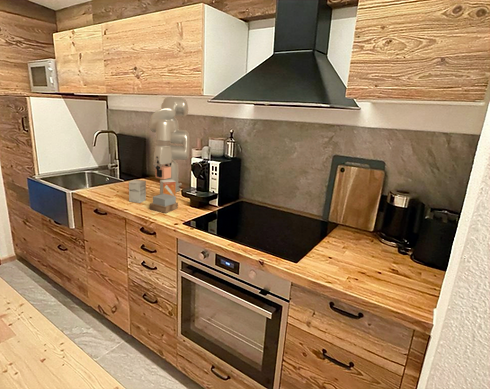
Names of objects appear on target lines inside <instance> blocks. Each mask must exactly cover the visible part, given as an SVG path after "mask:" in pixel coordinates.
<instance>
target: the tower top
mask: <svg viewBox="0 0 490 389" xmlns="http://www.w3.org/2000/svg"><path fill="white" fill-rule="evenodd" d="M176 197H177V196H176V195H175V196H172V195H168V194H160V193H159V194H157V195H153V196H152V203H153V204H157V205H161V206H164V207H165V206H168V205H171V204H174V203H177V202H176V201H177V198H176Z"/></svg>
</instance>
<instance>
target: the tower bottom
mask: <svg viewBox="0 0 490 389" xmlns="http://www.w3.org/2000/svg"><path fill="white" fill-rule="evenodd" d="M178 208H179V204H178V202H176V203H174V204H171V205H168V206H165V207H164V206H161V205H157V204H153V202H151V203H149V210H150V211H152V212H153V211H154V212H156V213H161V214H168V213H171V212H172V211H175V210H177V209H178Z"/></svg>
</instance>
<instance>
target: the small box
mask: <svg viewBox="0 0 490 389" xmlns="http://www.w3.org/2000/svg"><path fill="white" fill-rule="evenodd" d="M176 193H177V192H176V182H175V181H174V180H165V179H160V180H159V195H160V194H168V195H172V196H176Z"/></svg>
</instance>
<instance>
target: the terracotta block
mask: <svg viewBox="0 0 490 389" xmlns="http://www.w3.org/2000/svg"><path fill="white" fill-rule="evenodd" d="M159 167H160V165H159ZM154 168H155V167H154ZM161 170H162V177H157V170H156V168H155V169H154V171H155V172H154V173H155V174H154V175H155V178H157V179H160V180H165V179H167V178H171V167H168V166H165V165H162V168H161Z"/></svg>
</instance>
